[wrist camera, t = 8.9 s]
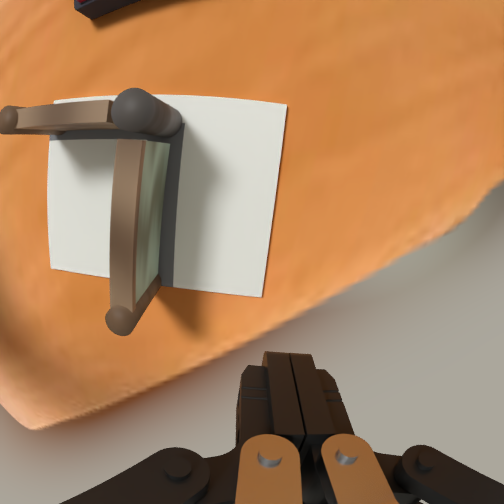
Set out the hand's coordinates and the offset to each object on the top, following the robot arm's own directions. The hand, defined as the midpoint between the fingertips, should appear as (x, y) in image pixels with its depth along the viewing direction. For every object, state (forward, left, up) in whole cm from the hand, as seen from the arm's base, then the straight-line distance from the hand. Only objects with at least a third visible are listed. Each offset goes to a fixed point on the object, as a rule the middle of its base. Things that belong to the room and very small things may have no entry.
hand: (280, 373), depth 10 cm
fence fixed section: (-12, +9, -14) cm, 20 cm away
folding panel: (-8, +2, -13) cm, 15 cm away
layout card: (-9, +4, -14) cm, 17 cm away
